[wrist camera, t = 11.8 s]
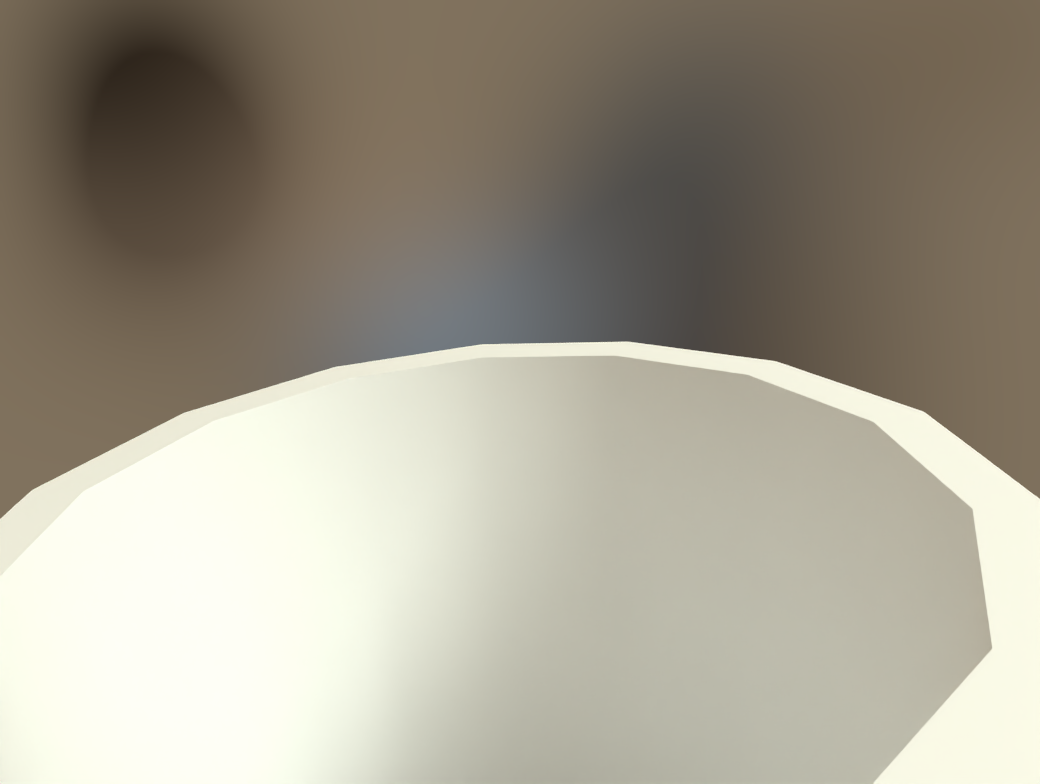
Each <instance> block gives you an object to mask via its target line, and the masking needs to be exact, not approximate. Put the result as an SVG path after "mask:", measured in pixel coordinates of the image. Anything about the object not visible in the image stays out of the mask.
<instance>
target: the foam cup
mask: <svg viewBox="0 0 1040 784" xmlns="http://www.w3.org/2000/svg"><path fill="white" fill-rule="evenodd" d="M0 784H1040V499H1039V498H1038V497H1036V496H1035V495H1033V494H1032V493H1031V492H1030V491H1028V490H1027V489H1026V488H1024V487H1023V486H1022V485H1020V484H1019V483H1018V482H1016V481H1015V480H1014V479H1012V478H1011V477H1010V476H1008V475H1007V474H1006V473H1004V472H1003V471H1001V470H1000V469H999V468H998V467H996V466H995V465H994V464H992V463H991V462H990V461H988V460H987V459H986V458H984V457H983V456H982V455H980V454H979V453H978V452H976V451H975V450H974V449H972V448H971V447H970V446H968V445H967V444H966V443H965V442H963V441H962V440H961V439H959V438H958V437H957V436H955V435H954V434H952V433H951V432H950V431H949V430H947V429H946V428H945V427H943V426H942V425H941V424H939V423H938V422H937V421H935V420H934V419H933V418H931V417H930V416H928V415H927V414H926V413H925V412H923V411H920V410H917V409H914V408H911V407H908V406H905V405H902V404H899V403H896V402H893V401H891V400H888V399H884V398H881V397H879V396H876V395H873V394H870V393H867V392H864V391H861V390H858V389H855V388H852V387H850V386H847V385H844V384H841V383H838V382H835V381H832V380H829V379H826V378H823V377H820V376H817V375H814V374H811V373H809V372H806V371H803V370H800V369H797V368H794V367H791V366H788V365H785V364H782V363H779V362H776V361H769V360H762V359H754V358H747V357H739V356H732V355H723V354H715V353H709V352H701V351H693V350H686V349H679V348H671V347H664V346H655V345H648V344H640V343H633V342H591V343H590V342H588V343H537V344H536V343H534V344H481V345H475V346H468V347H462V348H455V349H449V350H443V351H436V352H430V353H424V354H417V355H410V356H404V357H397V358H391V359H384V360H378V361H371V362H365V363H359V364H352V365H346V366H339V367H334V368H330V369H327V370H324V371H320V372H317V373H314V374H311V375H308V376H304V377H301V378H297V379H294V380H291V381H287V382H284V383H281V384H278V385H274V386H271V387H268V388H264V389H261V390H258V391H255V392H252V393H248V394H245V395H241V396H238V397H235V398H232V399H228V400H225V401H222V402H219V403H215V404H212V405H209V406H205V407H202V408H199V409H195V410H192V411H189V412H186V413H183V414H181V415H179V416H177V417H175V418H173V419H171V420H169V421H167V422H165V423H163V424H161V425H159V426H157V427H155V428H154V429H151V430H150V431H148V432H146V433H144V434H142V435H140V436H138V437H136V438H134V439H132V440H130V441H128V442H126V443H124V444H122V445H121V446H118V447H116V448H114V449H112V450H110V451H108V452H106V453H104V454H102V455H100V456H99V457H96V458H94V459H92V460H90V461H89V462H87V463H85V464H83V465H81V466H79V467H77V468H75V469H73V470H71V471H69V472H67V473H65V474H63V475H61V476H59V477H57V478H55V479H53V480H51V481H49V482H47V483H45V484H43V485H41V486H39V487H38V488H35V489H33V490H32V491H31V492H30V493H28V494H27V495H26V496H25V497H24V498H23V499H22V500H21V501H20V502H19V503H17V504H16V505H15V506H14V507H13V508H12V509H11V510H10V511H8V512H7V513H6V514H5V515H4V516H3V517H2V518H1V519H0Z"/></svg>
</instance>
